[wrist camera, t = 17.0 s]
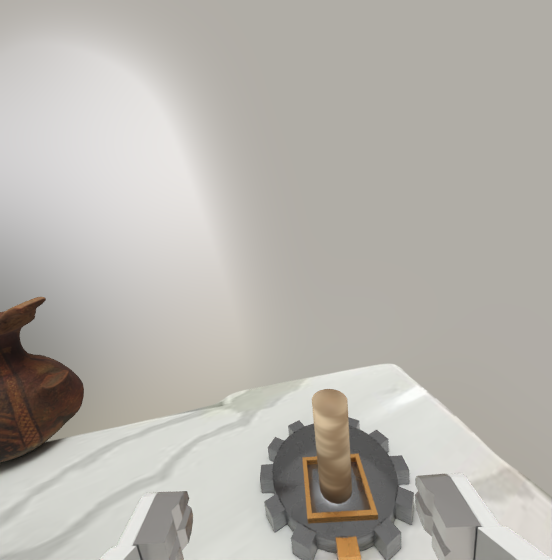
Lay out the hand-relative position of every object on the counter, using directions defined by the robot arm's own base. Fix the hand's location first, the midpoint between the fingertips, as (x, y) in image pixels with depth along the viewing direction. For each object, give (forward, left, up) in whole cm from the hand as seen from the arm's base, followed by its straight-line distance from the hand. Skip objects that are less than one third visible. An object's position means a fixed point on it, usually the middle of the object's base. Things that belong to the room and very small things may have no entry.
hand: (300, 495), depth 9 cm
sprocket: (+4, +25, -30) cm, 39 cm away
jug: (-58, +39, -30) cm, 76 cm away
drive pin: (+4, +22, -27) cm, 35 cm away
